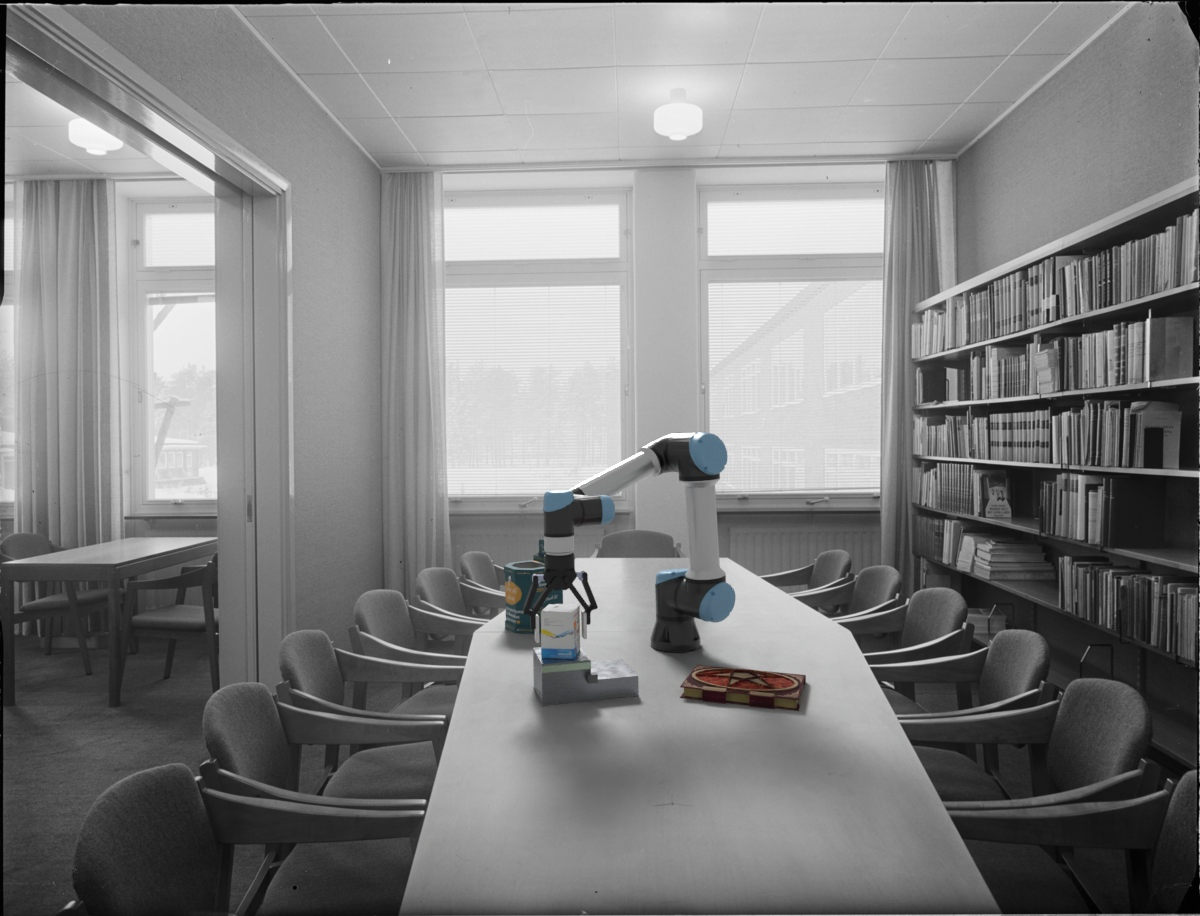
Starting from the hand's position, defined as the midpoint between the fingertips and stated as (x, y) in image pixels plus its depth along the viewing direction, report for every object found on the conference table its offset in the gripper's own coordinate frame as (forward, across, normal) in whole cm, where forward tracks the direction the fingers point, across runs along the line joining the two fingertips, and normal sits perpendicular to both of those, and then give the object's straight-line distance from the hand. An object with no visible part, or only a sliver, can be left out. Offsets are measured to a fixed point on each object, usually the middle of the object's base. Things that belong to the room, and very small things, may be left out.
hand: (560, 639), depth 186 cm
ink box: (+4, 0, 0) cm, 4 cm away
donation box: (+14, -2, -65) cm, 67 cm away
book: (+14, -45, +10) cm, 48 cm away
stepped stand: (+14, -6, +1) cm, 15 cm away
